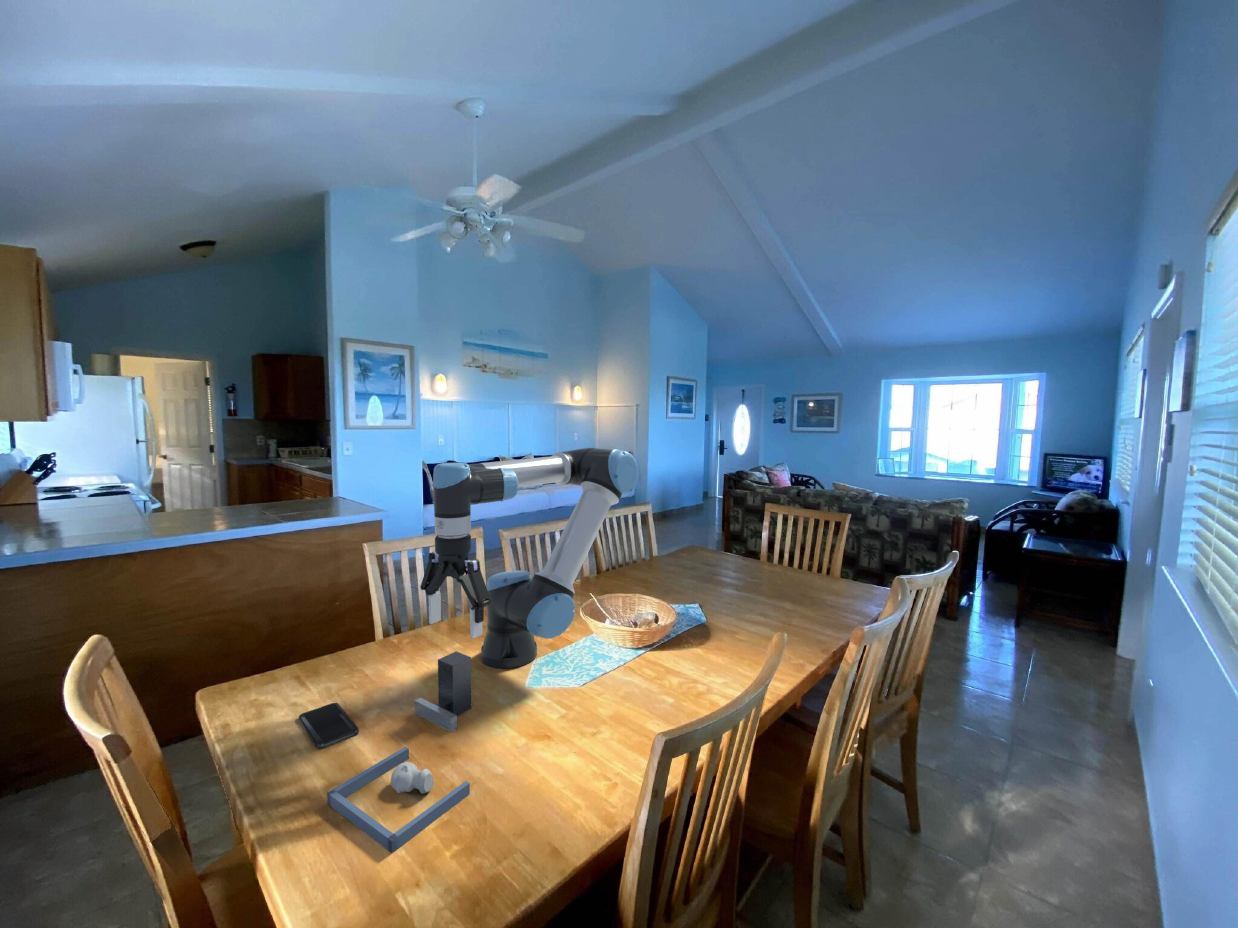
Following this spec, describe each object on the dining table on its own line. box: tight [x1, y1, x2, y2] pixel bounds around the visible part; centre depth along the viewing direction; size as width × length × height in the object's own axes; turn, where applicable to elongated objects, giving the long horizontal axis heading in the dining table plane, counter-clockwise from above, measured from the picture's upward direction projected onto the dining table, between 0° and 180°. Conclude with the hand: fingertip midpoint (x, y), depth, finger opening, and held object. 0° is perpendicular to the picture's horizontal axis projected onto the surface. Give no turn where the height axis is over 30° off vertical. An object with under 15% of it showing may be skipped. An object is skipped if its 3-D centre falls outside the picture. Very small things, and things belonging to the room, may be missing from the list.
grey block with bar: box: [414, 650, 472, 733], centre depth 115 cm, size 8×12×12 cm
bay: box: [326, 746, 471, 854], centre depth 90 cm, size 15×18×2 cm
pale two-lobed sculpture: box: [390, 761, 434, 795], centre depth 92 cm, size 4×8×5 cm
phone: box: [298, 702, 360, 750], centre depth 110 cm, size 8×1×15 cm
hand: (455, 628), depth 116 cm, fingers open, 13 cm apart
